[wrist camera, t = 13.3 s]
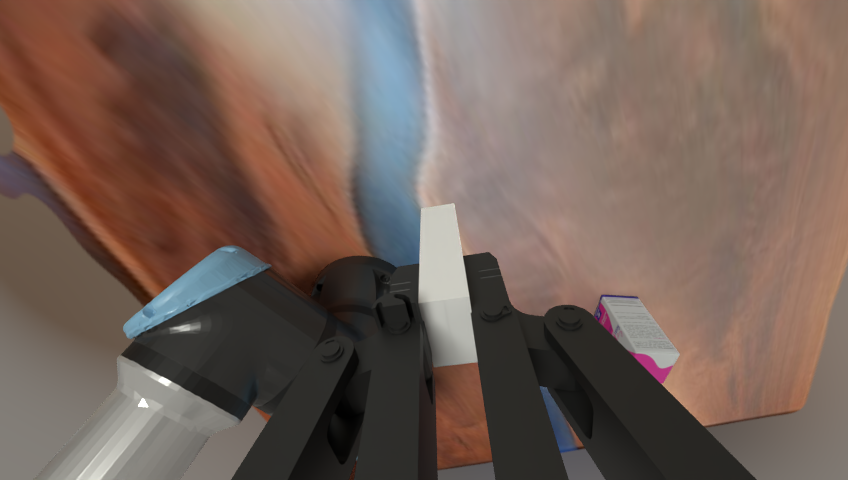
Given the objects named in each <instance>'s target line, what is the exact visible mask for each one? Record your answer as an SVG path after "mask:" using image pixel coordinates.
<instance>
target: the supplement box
mask: <svg viewBox="0 0 848 480" xmlns="http://www.w3.org/2000/svg"><path fill="white" fill-rule="evenodd" d="M594 317H595V318H596V319H597V320H598V321H599V322H600V323H601V324H602V325H603V326H604V327H605V328H606V329H607V330H608V331H609V332H610V333H611V334H612V335H613V336H614V337H615V338H616V339H617V340H618V341H619V342H620V343H621V344H622V345H623V346H624V347H625V348H626V349H627V350H628V351H629V352H630V353H631V354H632V355H633V356H634V357H635V358H636V359H637V360H638V361H639V362H640V363H641V364H642V365H643V366H644V367H645V368H646V369H647V370H648V371H649V372H650V373H651V374H652V375H653V376H654V377H655V378H656V379H657V380H658V381H659V382H660V383H663V382H664V381H665V379H666V377H667V375H668V374H669V372H670V370H671V369H672V367H673V365H674V364H675V362H676V360H677V358H678V357H679V355H680V354H679V352H678V351H677V350H676V348H675V347H674V345H673V344H672V343H671V341H670V340H669V339H668V337H667V336H666V335H665V333H664V332H663V331H662V329H661V328H660V327H659V325H658V324H657V323H656V321H655V320H654V319H653V317H652V316H651V315H650V313H649V312H648V310H647V309H646V308H645V306H644V305H643V304H642V302H641V301H640V300H639V298H638V297H635V296H616V295H601V298H600V302H599V304H598V307H597V310H596V312H595V315H594Z"/></svg>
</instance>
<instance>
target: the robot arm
mask: <svg viewBox="0 0 848 480" xmlns="http://www.w3.org/2000/svg"><path fill="white" fill-rule="evenodd" d="M271 267H272V266H271V265H270V264H268V263H267V264H266V263H264V262H263V261H261V260H260V259H258V258H256V257H255V256H253V255H252V254H250V253H249V252H247V251H246V250H245V249H243V248H241V247H238V246H224V247H222V248H219V249H217V250H216V251H214V252H213V253H211V254H210V255H209V256H207V257H206V258H205V259H203V260H202V261H201V262H199V263H198V264H197V265H195V266H194V267H193V268H191V269H190V270H189V271H188V272H186V273H185V274H184V275H183V276H181V277H180V278H179V279H177V280H176V281H175V282H174V283H173V284H171V285H170V286H169V287H168V288H166V289H165V290H164V291H163V292H161V293H160V294H159V295H158V296H157V297H156V298H154V299H153V300H152V301H151V302H150V303H149V304H147V305H146V306H145V307H144V308H143V309H142V310H141V311H139V312H138V313H136V314H135V315H134V316H133V317H132V318H131V319H130V320H129V321H127V322H126V323H125V325H124V327H123V329H124V332H125V333H126V335H127V338H130V339H132V338H135V340H134V341H133V342H132V343H131V345H130V346H129V347H128V348H127V349H126V350H125V351H124V352H123V353H122V354H121V355H120V356H119V357H118V358H117V367H118V383H117V387H116V389H115V390H114V391H113V392H112V393H111V394H110V396H109V397H108V398H107V399H106V400H105V401H104V402H103V403H102V404H101V405H100V406H99V408H98V409H97V410H96V411H95V412H94V413H93V414H92V415H91V416H90V418H89V419H88V420H87V421H86V422H85V423H84V424H83V425H82V426H81V427H80V429H79V430H78V431H77V432H76V433H75V434H74V435H73V436H72V437H71V439H70V440H69V441H68V442H67V443H66V444H65V445H64V446H63V447H62V448H61V450H60V451H59V452H58V453H57V454H56V455H55V456H54V457H53V458H52V460H51V461H50V462H49V463H48V464H47V465H46V466H45V467H44V469H43V470H42V471H41V472H40V473H39V474H38V475H37V476H36V477H35V478H34V480H180V479H181V478H182V476H183V475H184V473H185V472H186V470H187V469H188V468H189V466H190V465H191V463H192V462H193V460H194V459H195V457H196V456H197V455H198V453H199V452H200V450H201V449H202V448H203V446H204V445H205V443H206V442H207V440H208V439H209V438H210V436H212V435H213V434H215V433H216V432H218V431H221V430H224V429H227V428H230V427H233V426H236V425H238V424H239V423H240V422H241V421H242V420H243V418H244V417H245V415H246V414H247V412H248V410H249V409H250V408H251V406H252V405H253V406H254V407H257V408H258V409H260V410H262V411H264V412H265V413H267V414H269V415H270V416H271V418H270V419H269V421H268V422H267V424H266V426H265V428H264V429H263V430H262V432H261V433H260V435H259V437H258V438H257V440H256V441H255V443H254V445H253V446H252V448H251V449H250V451H249V452H248V454H247V456H246V457H245V459H244V460H243V462H242V463H241V465H240V467H239V468H238V470H237V471H236V473H235V475H234V476H233V478H232V479H231V480H349V477H350V475H351V472H352V470H353V467H354V464H355V462H356V460H357V465H356V471H355V477H354V480H438V478H437V477H438V475H437V438H436V401H435V380H434V376H433V372H432V361H433V365H434V367H441V366H449V365H457V364H465V363H473V362H478V367H479V373H480V380H481V386H482V393H483V400H484V406H485V413H486V419H487V426H488V433H489V439H490V446H491V452H492V459H493V466H494V472H495V479H496V480H568V476H567V473H566V470H565V467H564V463H563V460H562V457H561V454H560V451H559V447H558V444H557V441H556V438H555V435H554V431H553V428H552V425H551V422H550V419H549V416H548V412H547V409H546V406H545V403H544V400H543V396H542V393H541V390H540V387H539V386H543V387H547V389H548V391H549V393H550V394H551V396H552V397H553V399H554V401H555V402H556V404H557V405H558V407H559V408H560V410H561V411H562V413H563V414H564V416H565V418H566V419H567V421H568V422H569V424H570V425H571V427H572V428H573V430H574V431H575V433H576V435H577V436H578V438H579V439H580V441H581V442H582V444H583V445H584V447H585V448H586V450H587V451H588V453H589V455H590V456H591V458H592V459H593V461H594V462H595V464H596V465H597V467H598V469H599V470H600V472H601V473H602V475H603V476H604V478H605V479H606V480H756V479H755V478H754V477H753V476H752V475H751V474H750V473H749V472H748V471H747V470H746V469H745V468H744V467H743V466H742V465H741V464H740V463H739V462H738V461H737V460H736V459H735V458H734V457H733V456H732V455H731V454H730V453H729V452H728V451H727V450H726V449H725V448H724V447H723V446H722V445H721V444H720V443H719V442H718V441H717V440H716V439H715V438H714V437H713V435H712V434H711V433H710V432H708V430H707V429H706V428H705V427H704V426H703V425H702V424H701V423H700V422H699V421H698V420H697V419H696V418H695V417H694V416H693V415H692V414H691V413H690V412H689V411H688V410H687V409H686V408H685V407H684V406H683V405H682V404H681V403H680V402H679V401H678V400H677V399H676V398H675V397H674V396H673V395H672V394H671V393H670V392H669V391H668V390H667V389H666V388H665V387H664V386H663V385H662V384H661V383H660V382H659V381H658V380H657V379H656V378H655V377H654V376H653V375H652V374H651V373H650V372H649V371H648V370H647V369H646V368H645V367H644V366H643V365H642V364H641V363H640V362H639V361H638V360H637V359H636V358H635V357H634V356H633V355H632V354H631V353H630V352H629V351H628V350H627V349H626V348H625V347H624V346H623V345H622V344H621V343H620V342H619V341H618V340H617V339H616V338H615V337H614V336H613V335H612V334H611V333H610V332H609V331H608V330H607V329H606V328H605V327H604V326H603V325H602V324H601V323H600V322H599V321H598V320H597V319H596V318H595V317H594V316H593V315H592V314H590V313H589V312H588V311H586V310H585V309H583V308H580V307H577V306H574V305H560V306H555V307H553V308H551V309H549V310H548V312H547V313H546V314H545V316H544V317H543V316H534V315H528V314H525V313H522V312H520V311H518V310H517V309H515V308H514V307H513V306H512V305H511V303H510V301H509V298H508V294H507V291H506V288H505V285H504V281H503V278H502V276H501V272H500V269H499V265H498V262H497V259H496V258H495V257H494V256H493V255H492V254H490V253H489V252H486V253H480V254H473V255H467V256H463V254H462V248H461V242H460V235H459V229H458V223H457V217H456V211H455V204H454V203H452V204H446V205H440V206H434V207H428V208H422V209H421V231H420V264H413V265H406V266H400V267H398V268H396V267H394V266H393V265H391V264H390V263H388V262H386V261H383V260H381V259H377V258H374V257H368V256H351V257H345V258H342V259H339V260H337V261H334V262H333V263H331V264H329V265H328V266H327V267H325V268H324V269H323V270H322V272H321V273H320V274H319V276H318V278H317V280H316V282H315V284H314V287H313V289H312V293H311V297H310V296H308V295H307V294H305V293H304V292H303V291H301V290H300V289H299V288H297V287H296V286H295V285H293V284H292V283H291V282H289V281H288V280H287V279H285V278H284V277H283V276H282V275H280V274H279V273H278V272H276V271H275V270H274V269H273V268H271Z"/></svg>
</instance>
